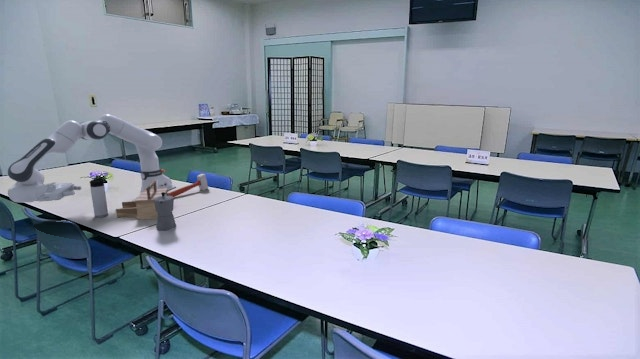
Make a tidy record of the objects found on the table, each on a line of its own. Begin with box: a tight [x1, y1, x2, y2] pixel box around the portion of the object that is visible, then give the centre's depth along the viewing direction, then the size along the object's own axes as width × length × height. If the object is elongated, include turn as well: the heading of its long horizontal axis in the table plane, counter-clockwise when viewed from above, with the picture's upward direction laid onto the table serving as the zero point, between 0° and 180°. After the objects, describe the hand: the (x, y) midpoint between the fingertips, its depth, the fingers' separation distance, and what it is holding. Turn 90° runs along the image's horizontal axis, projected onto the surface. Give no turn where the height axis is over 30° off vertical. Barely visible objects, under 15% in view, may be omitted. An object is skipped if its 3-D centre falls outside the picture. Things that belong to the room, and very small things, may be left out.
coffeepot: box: [153, 192, 177, 232], centre depth 175 cm, size 15×9×18 cm, turn 13°
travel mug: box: [89, 177, 109, 218], centre depth 189 cm, size 6×7×20 cm
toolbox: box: [115, 180, 169, 221], centre depth 195 cm, size 23×23×16 cm
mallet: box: [167, 173, 209, 198], centre depth 233 cm, size 11×4×30 cm
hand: (77, 190), depth 187 cm, fingers open, 8 cm apart
